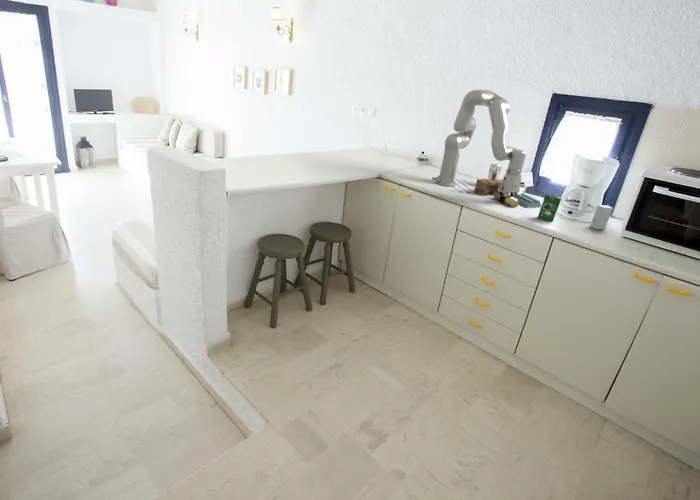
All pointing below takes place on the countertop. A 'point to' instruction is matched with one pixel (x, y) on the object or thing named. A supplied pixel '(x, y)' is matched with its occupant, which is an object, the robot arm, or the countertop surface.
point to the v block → (527, 201)
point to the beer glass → (494, 171)
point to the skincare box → (601, 217)
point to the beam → (487, 186)
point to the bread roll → (507, 200)
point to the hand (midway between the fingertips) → (505, 202)
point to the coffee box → (549, 207)
